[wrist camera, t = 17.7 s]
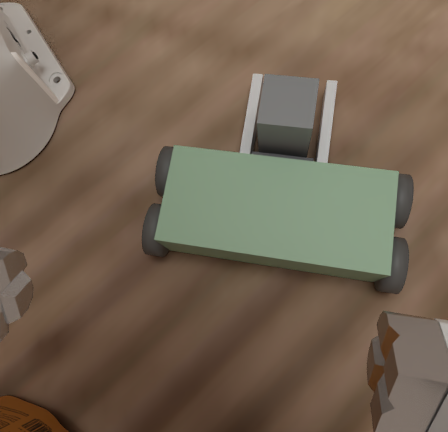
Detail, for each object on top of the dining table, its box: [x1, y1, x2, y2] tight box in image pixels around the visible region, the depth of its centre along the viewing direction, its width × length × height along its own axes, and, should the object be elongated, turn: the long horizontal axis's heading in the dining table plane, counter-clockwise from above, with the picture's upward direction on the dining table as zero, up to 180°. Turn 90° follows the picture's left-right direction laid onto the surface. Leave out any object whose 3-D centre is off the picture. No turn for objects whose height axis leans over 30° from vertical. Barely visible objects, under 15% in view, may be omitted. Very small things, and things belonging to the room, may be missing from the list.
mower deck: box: [142, 74, 413, 294], centre depth 40 cm, size 23×20×6 cm
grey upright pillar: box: [257, 74, 319, 158], centre depth 38 cm, size 4×4×10 cm
